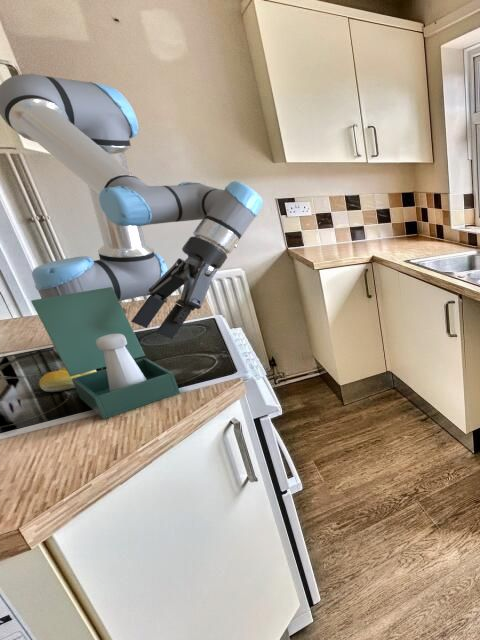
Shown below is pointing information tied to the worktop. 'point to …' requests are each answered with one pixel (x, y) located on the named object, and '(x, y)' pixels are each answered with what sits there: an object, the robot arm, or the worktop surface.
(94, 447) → the worktop surface
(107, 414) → the box
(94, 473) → the worktop surface
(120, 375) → the salt shaker
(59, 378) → the yellow rounded piece
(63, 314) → the box lid
